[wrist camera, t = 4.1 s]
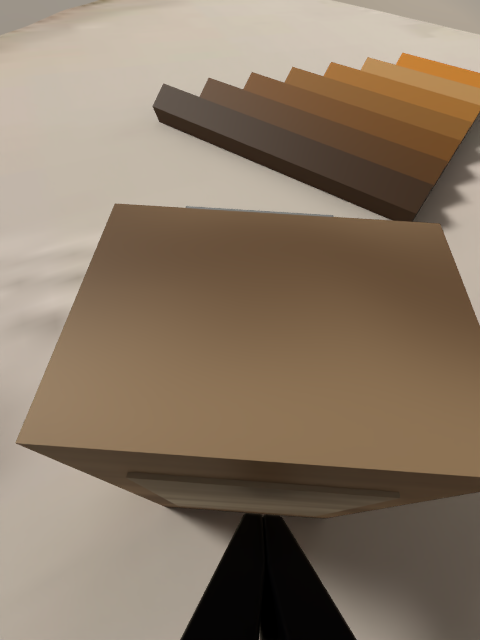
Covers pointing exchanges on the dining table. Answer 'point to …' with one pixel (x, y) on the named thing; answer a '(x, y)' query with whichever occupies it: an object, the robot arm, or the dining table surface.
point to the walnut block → (266, 364)
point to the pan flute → (341, 126)
